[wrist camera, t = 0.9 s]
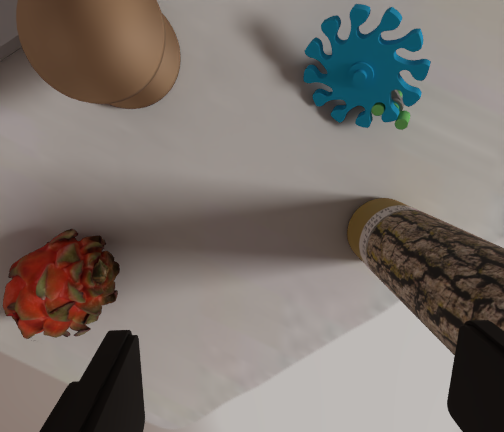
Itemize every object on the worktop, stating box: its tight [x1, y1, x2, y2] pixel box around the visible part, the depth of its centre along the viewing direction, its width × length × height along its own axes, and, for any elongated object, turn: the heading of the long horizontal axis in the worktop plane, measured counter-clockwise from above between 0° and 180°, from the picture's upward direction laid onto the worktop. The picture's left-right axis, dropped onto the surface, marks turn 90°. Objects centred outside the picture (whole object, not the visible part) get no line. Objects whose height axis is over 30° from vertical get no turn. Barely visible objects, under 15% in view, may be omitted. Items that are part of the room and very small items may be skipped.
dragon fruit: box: [3, 229, 120, 341], centre depth 33 cm, size 8×8×12 cm
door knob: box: [16, 0, 180, 109], centre depth 28 cm, size 9×9×9 cm
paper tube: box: [347, 198, 504, 355], centre depth 25 cm, size 7×7×25 cm
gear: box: [304, 4, 431, 130], centre depth 31 cm, size 11×6×10 cm
